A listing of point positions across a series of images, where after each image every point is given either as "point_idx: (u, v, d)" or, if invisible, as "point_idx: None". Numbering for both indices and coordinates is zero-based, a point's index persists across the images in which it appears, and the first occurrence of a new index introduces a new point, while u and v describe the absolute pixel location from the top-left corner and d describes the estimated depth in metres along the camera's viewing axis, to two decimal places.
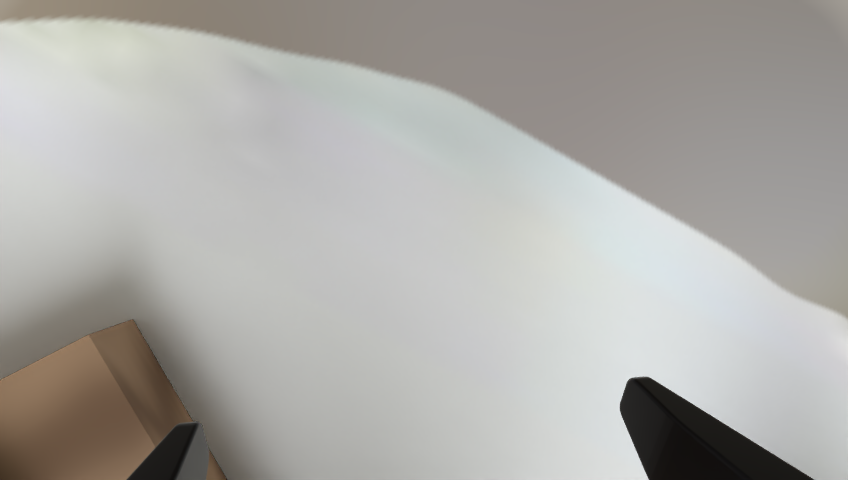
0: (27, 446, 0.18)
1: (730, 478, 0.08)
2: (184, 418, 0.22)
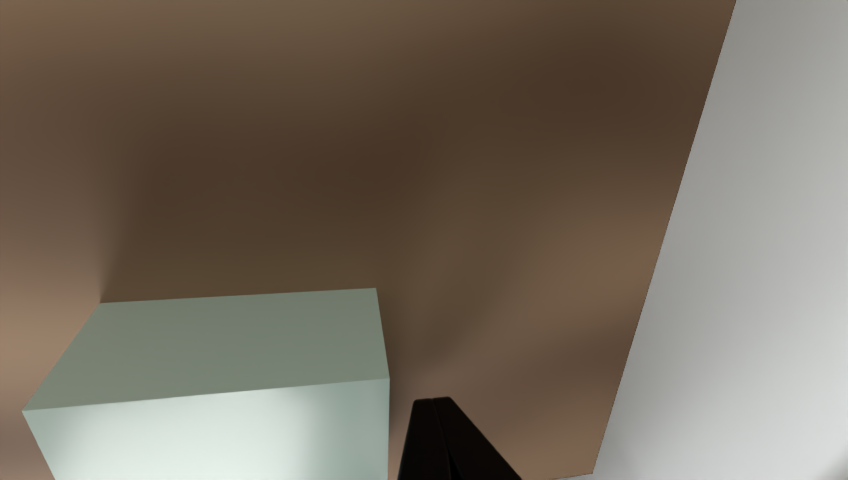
0: None
1: None
2: None
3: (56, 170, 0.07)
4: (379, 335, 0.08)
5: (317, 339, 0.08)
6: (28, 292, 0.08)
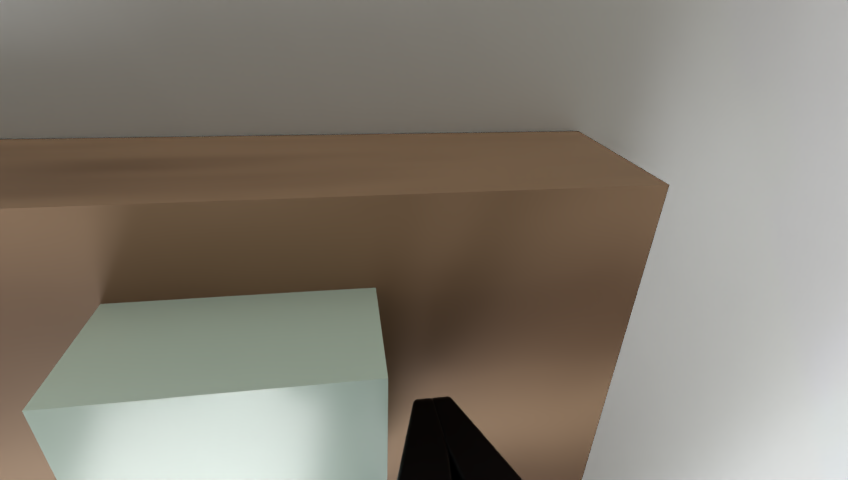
0: (480, 305, 0.10)
1: None
2: None
3: None
4: None
5: None
6: None
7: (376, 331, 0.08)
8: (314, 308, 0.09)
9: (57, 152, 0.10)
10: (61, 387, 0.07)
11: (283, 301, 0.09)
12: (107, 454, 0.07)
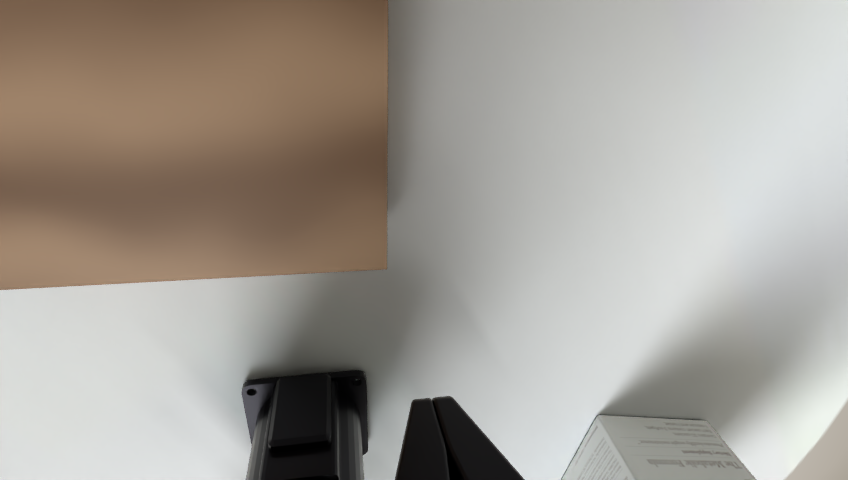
0: None
1: None
2: None
3: None
4: None
5: None
6: None
7: None
8: None
9: None
10: None
11: None
12: None
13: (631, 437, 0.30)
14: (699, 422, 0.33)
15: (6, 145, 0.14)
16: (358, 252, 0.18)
